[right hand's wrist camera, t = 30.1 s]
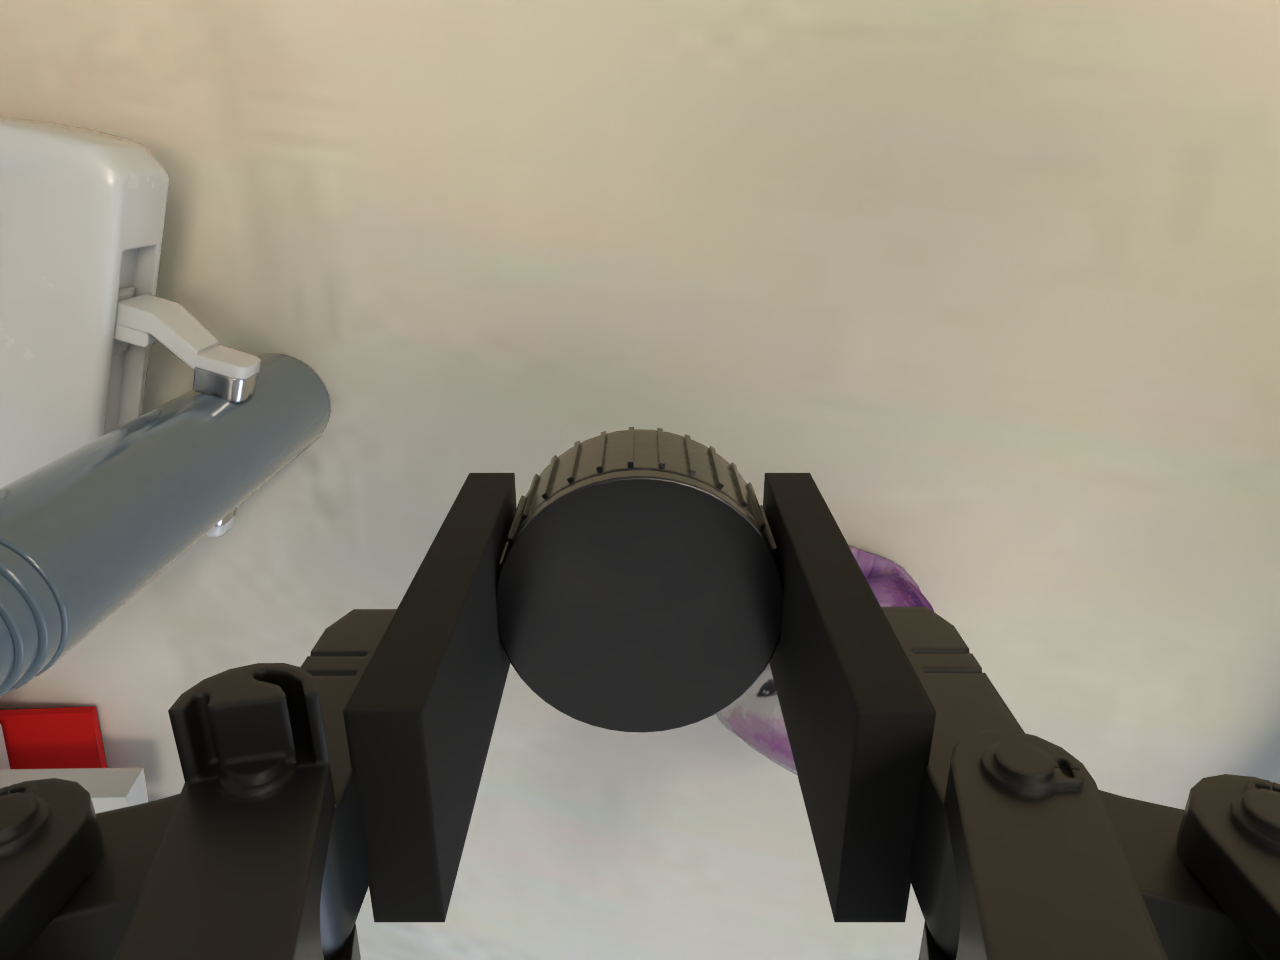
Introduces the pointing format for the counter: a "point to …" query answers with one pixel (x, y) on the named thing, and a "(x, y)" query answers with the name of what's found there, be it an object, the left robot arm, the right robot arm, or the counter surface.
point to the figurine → (759, 705)
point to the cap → (639, 583)
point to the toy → (65, 755)
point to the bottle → (137, 507)
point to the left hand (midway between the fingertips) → (241, 449)
